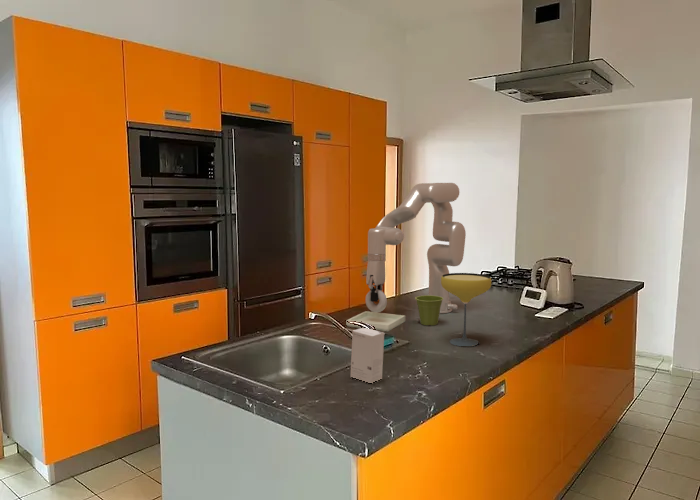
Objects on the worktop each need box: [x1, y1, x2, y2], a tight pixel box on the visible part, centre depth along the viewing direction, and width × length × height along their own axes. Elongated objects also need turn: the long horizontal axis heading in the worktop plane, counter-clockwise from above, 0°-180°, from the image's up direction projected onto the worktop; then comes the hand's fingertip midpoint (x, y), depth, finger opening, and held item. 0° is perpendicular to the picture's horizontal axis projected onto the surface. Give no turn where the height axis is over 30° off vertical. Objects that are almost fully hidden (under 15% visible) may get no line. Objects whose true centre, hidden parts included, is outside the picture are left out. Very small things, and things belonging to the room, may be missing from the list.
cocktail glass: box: [441, 272, 492, 347], centre depth 194 cm, size 18×18×25 cm
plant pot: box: [414, 294, 443, 326], centre depth 223 cm, size 12×12×11 cm
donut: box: [365, 289, 388, 313], centre depth 223 cm, size 10×4×10 cm, turn 60°
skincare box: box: [350, 328, 385, 384], centre depth 157 cm, size 8×6×15 cm
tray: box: [345, 310, 406, 332], centre depth 224 cm, size 19×19×2 cm
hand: (376, 300), depth 223 cm, fingers closed on donut, 3 cm apart
